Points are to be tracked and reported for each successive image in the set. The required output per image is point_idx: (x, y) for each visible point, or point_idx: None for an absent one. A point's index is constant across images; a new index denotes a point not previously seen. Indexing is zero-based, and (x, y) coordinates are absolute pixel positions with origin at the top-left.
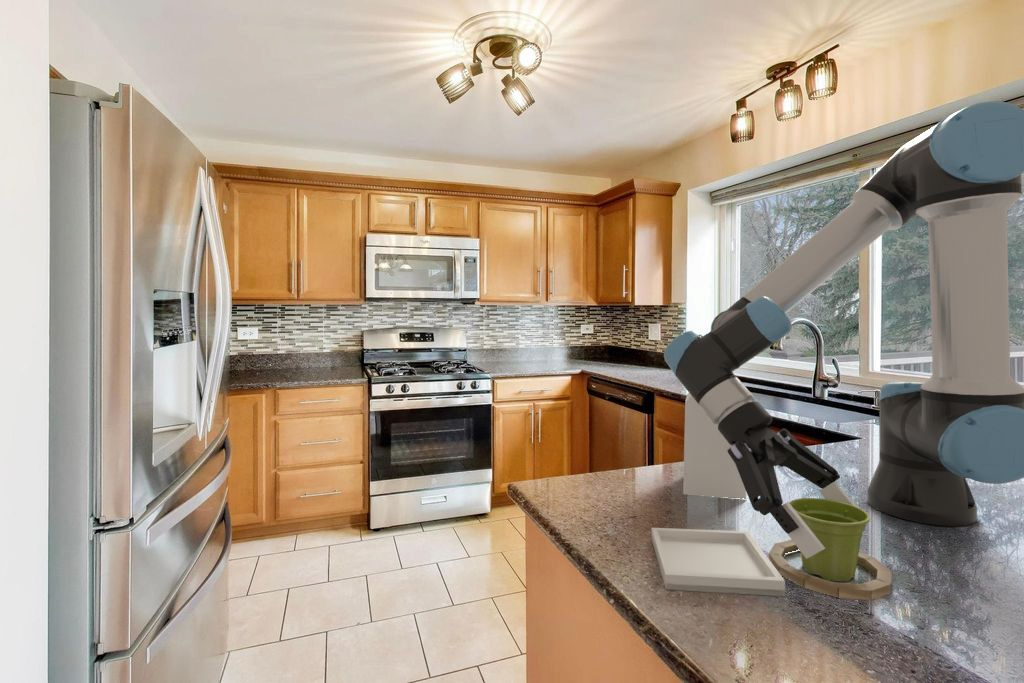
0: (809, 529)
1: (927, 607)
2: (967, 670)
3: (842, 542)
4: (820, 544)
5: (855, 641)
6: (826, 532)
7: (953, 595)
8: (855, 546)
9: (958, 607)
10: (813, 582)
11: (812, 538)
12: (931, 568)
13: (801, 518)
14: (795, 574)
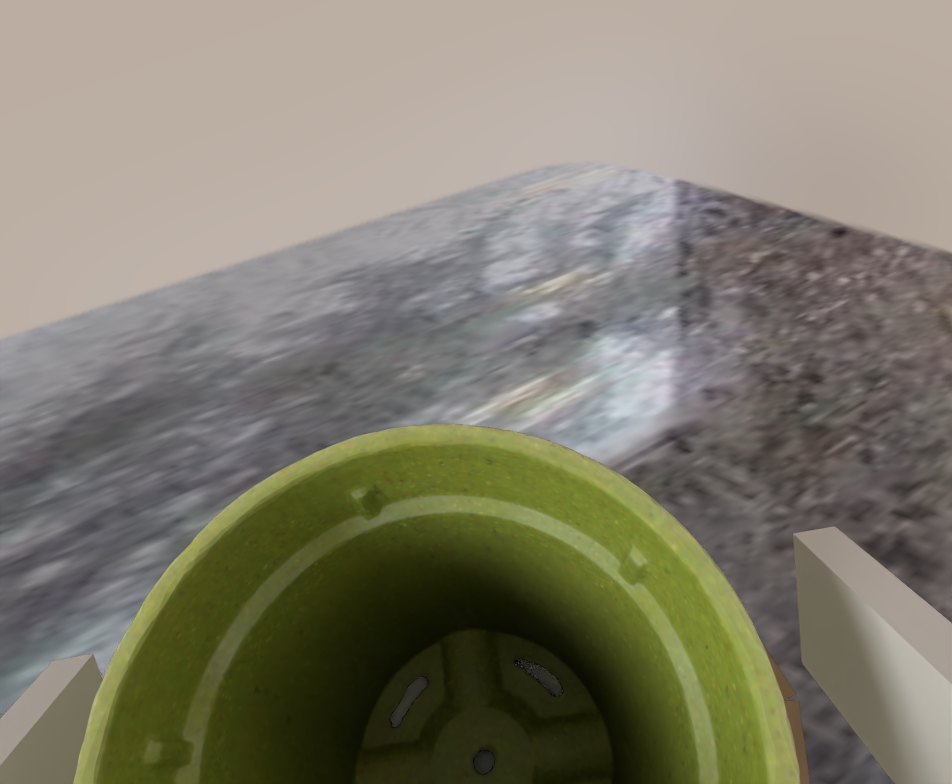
0: (886, 614)
1: (425, 380)
2: (681, 191)
3: (563, 563)
4: (833, 543)
5: (892, 364)
6: (664, 608)
7: (250, 385)
8: (465, 551)
9: (333, 341)
10: (766, 652)
11: (890, 574)
12: (49, 529)
13: (949, 684)
14: (802, 763)
